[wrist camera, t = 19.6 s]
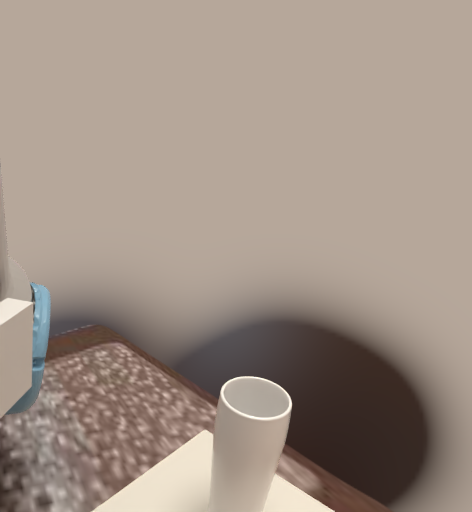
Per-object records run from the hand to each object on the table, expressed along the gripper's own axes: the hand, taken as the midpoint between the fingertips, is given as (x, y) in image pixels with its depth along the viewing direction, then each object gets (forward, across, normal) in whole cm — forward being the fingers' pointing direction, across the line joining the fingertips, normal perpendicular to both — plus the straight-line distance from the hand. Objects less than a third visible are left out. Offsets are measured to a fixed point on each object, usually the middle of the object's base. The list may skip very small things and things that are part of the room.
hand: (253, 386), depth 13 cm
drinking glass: (+25, +1, -32) cm, 40 cm away
